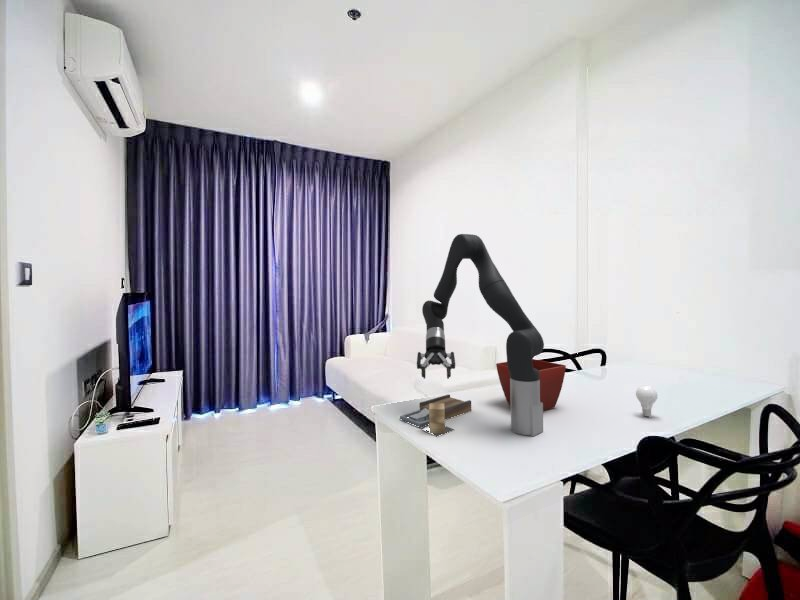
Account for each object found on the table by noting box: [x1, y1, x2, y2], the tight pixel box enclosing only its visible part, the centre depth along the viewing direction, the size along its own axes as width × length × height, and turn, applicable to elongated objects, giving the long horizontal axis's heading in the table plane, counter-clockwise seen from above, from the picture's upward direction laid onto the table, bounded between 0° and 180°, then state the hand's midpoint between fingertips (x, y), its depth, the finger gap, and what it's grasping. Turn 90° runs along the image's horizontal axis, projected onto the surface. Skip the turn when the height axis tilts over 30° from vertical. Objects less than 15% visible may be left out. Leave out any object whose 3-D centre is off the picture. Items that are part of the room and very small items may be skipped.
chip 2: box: [418, 408, 429, 420], centre depth 133 cm, size 4×4×2 cm
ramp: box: [419, 393, 472, 420], centre depth 140 cm, size 12×16×4 cm
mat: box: [426, 425, 455, 437], centre depth 122 cm, size 8×8×1 cm
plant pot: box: [495, 358, 567, 411], centre depth 144 cm, size 19×19×17 cm
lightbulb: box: [635, 385, 658, 418], centre depth 129 cm, size 6×6×11 cm
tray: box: [399, 409, 429, 428], centre depth 132 cm, size 11×10×2 cm
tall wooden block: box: [428, 403, 446, 435], centre depth 122 cm, size 5×6×8 cm
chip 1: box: [409, 414, 425, 422], centre depth 131 cm, size 4×4×2 cm
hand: (436, 377), depth 132 cm, fingers open, 8 cm apart
